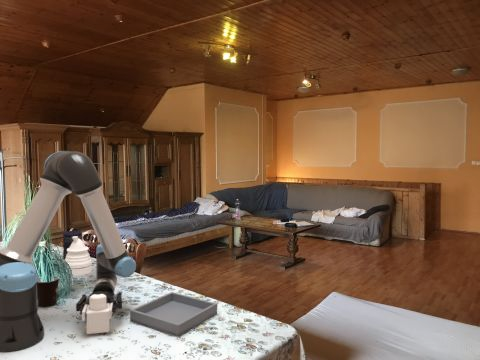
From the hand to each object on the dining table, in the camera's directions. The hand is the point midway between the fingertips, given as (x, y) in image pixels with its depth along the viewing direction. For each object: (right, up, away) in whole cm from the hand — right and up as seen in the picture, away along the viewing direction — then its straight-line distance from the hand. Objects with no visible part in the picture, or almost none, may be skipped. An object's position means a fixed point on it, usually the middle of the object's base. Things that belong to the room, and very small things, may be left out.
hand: (96, 315), depth 127 cm
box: (+22, -7, +17) cm, 29 cm away
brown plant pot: (-29, -5, +29) cm, 41 cm away
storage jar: (-46, 0, +91) cm, 102 cm away
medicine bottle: (-1, -6, +5) cm, 8 cm away
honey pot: (-34, -2, +68) cm, 76 cm away
